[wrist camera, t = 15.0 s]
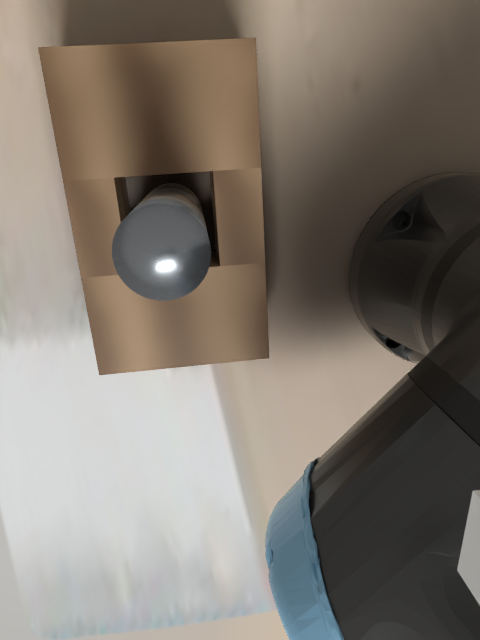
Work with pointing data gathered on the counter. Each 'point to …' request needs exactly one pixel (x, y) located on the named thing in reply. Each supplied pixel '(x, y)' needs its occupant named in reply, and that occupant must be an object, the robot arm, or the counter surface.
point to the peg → (163, 244)
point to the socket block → (154, 159)
